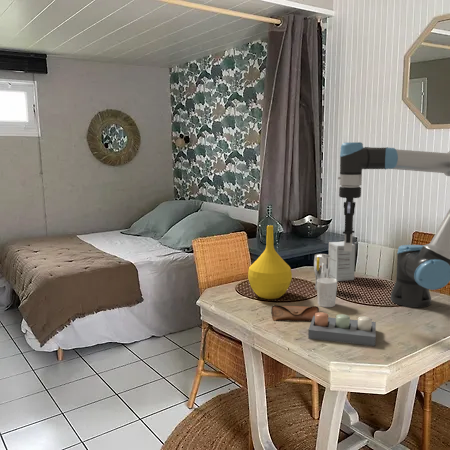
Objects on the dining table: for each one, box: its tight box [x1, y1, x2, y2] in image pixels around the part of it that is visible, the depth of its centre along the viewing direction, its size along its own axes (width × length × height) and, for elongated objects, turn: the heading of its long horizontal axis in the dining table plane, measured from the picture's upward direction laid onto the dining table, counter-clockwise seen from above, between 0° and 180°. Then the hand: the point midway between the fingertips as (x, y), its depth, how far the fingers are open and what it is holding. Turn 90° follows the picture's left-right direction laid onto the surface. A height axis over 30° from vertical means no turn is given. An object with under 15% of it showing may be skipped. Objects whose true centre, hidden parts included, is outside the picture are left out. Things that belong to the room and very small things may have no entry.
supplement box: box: [328, 240, 356, 282], centre depth 219 cm, size 10×9×17 cm
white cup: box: [316, 277, 338, 308], centre depth 184 cm, size 8×8×10 cm
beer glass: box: [313, 253, 330, 291], centre depth 204 cm, size 7×7×15 cm
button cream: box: [357, 315, 373, 332], centre depth 154 cm, size 4×4×4 cm
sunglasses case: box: [270, 304, 320, 323], centre depth 172 cm, size 18×7×7 cm, turn 86°
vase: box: [247, 224, 293, 300], centre depth 194 cm, size 18×18×30 cm
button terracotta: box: [315, 311, 329, 327], centre depth 158 cm, size 4×4×4 cm
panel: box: [307, 316, 377, 347], centre depth 156 cm, size 21×13×3 cm, turn 72°
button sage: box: [335, 313, 351, 329], centre depth 156 cm, size 4×4×4 cm
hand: (347, 250), depth 170 cm, fingers closed
